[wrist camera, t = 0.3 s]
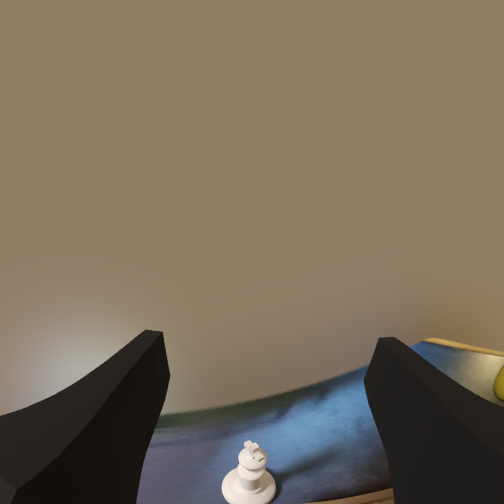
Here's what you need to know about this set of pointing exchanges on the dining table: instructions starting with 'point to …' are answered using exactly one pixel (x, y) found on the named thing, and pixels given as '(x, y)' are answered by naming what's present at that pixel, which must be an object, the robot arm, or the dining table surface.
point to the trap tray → (365, 498)
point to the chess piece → (249, 478)
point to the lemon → (500, 384)
